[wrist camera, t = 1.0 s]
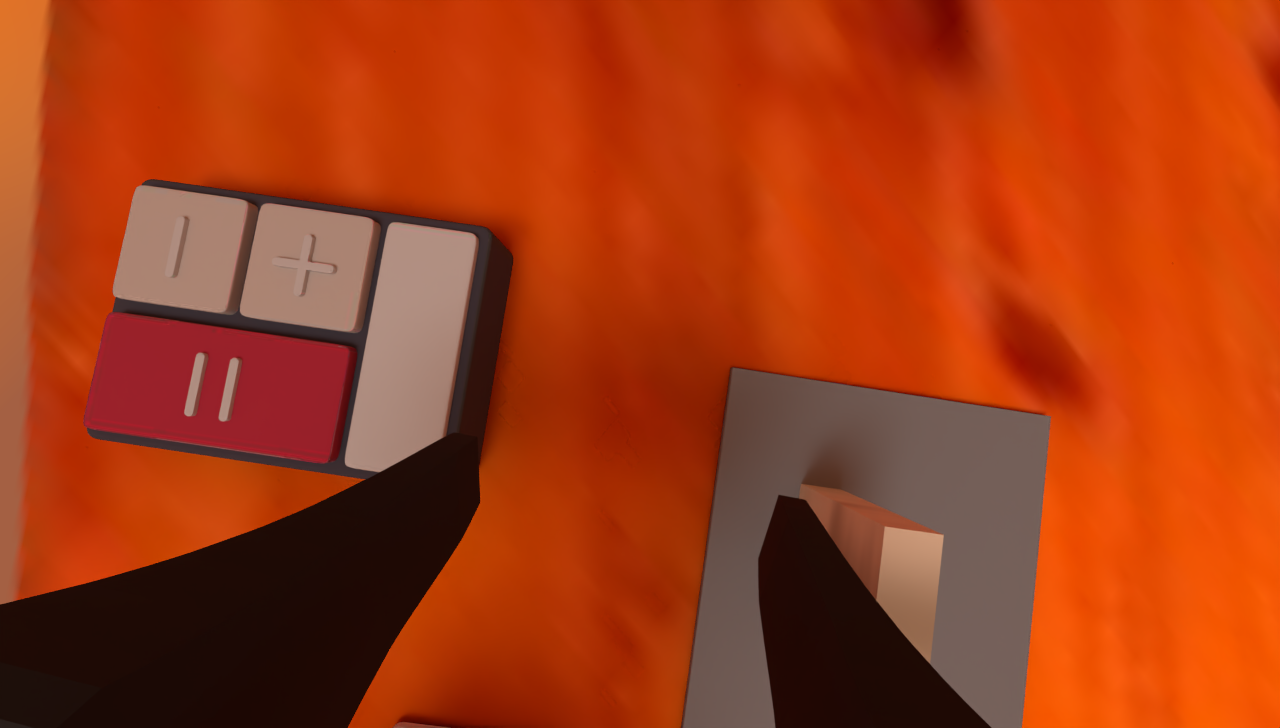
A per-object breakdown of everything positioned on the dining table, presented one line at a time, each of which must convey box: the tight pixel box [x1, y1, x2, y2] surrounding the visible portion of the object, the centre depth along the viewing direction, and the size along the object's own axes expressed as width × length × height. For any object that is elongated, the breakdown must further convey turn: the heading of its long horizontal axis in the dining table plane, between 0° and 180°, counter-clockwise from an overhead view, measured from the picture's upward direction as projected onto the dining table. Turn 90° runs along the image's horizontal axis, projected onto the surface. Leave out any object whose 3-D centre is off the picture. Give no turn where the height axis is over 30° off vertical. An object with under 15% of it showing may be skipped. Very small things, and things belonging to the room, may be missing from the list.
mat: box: [681, 367, 1051, 728], centre depth 22 cm, size 18×16×1 cm
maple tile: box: [799, 484, 944, 663], centre depth 19 cm, size 6×2×7 cm, turn 171°
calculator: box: [83, 179, 513, 479], centre depth 20 cm, size 11×4×15 cm
